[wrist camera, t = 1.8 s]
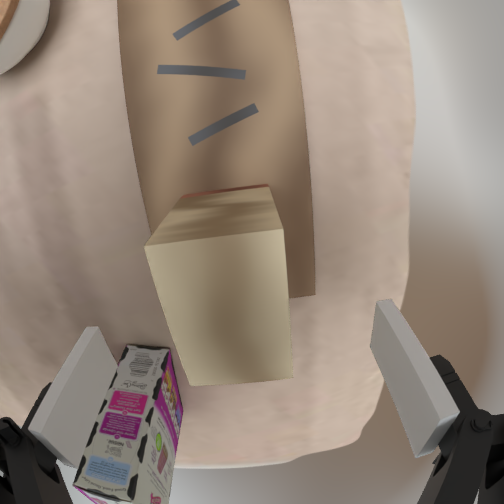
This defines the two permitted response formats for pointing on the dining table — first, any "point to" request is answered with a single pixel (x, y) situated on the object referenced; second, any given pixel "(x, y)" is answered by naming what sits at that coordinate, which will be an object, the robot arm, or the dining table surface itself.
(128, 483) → the candy bar box
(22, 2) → the lidded jar
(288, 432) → the dining table surface
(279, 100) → the board
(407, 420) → the robot arm
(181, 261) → the block
